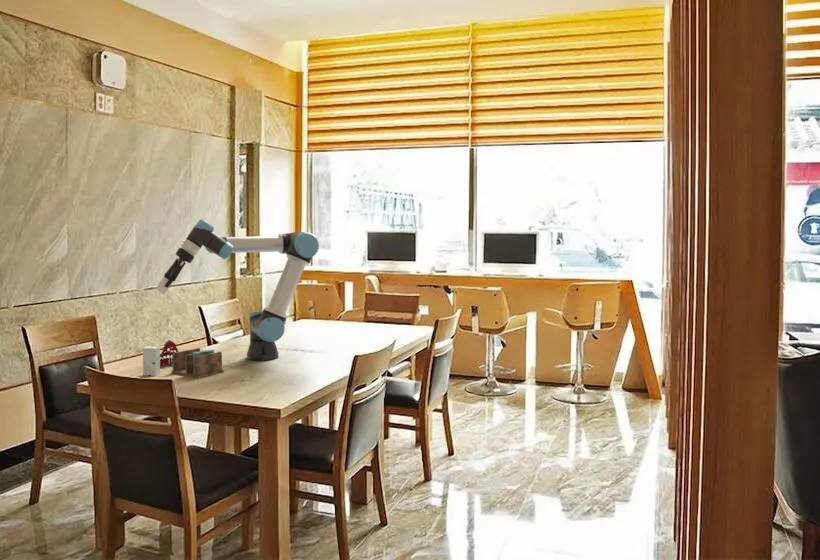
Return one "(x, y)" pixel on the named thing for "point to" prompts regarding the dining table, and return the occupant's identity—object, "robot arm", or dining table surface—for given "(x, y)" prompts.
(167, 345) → the logo sign
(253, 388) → the dining table surface
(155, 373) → the skincare box
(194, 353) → the rack
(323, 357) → the dining table surface
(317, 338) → the dining table surface
